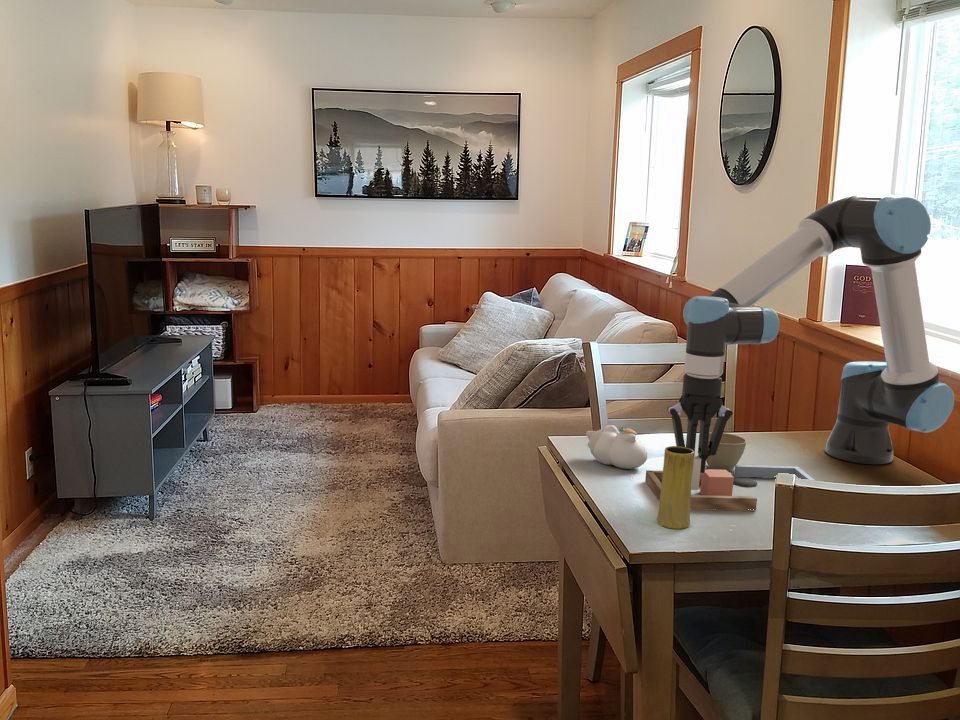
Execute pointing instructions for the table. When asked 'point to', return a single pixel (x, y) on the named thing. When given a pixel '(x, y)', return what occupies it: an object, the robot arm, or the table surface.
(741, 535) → the table surface
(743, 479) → the hole marker
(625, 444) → the white rounded lumpy piece
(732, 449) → the beige bowl
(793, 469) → the bay
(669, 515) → the vase
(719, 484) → the cube
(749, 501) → the wooden frame
